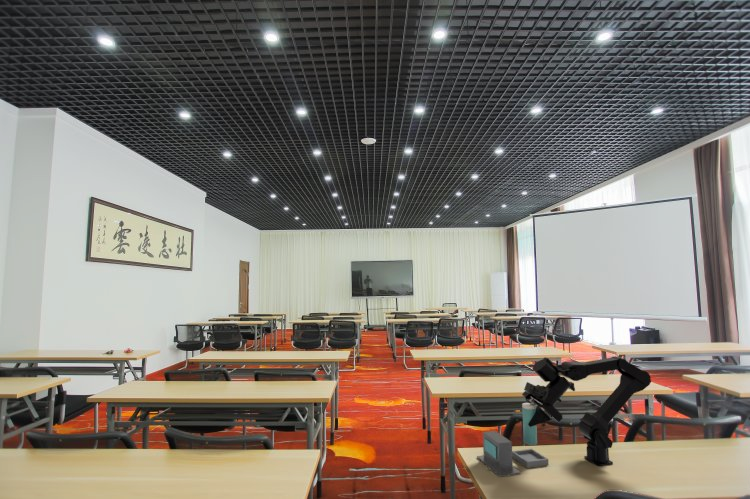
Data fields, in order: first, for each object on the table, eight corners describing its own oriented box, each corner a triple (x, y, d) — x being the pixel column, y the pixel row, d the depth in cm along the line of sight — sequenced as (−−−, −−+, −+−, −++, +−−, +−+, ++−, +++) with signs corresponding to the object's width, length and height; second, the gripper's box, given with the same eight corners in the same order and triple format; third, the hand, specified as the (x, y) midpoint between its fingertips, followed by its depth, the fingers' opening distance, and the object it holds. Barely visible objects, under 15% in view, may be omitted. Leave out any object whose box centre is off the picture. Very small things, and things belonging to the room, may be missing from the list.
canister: (535, 440, 133) (533, 403, 134) (538, 445, 128) (536, 407, 129) (522, 439, 133) (520, 402, 135) (525, 444, 129) (523, 406, 130)
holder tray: (532, 454, 137) (531, 448, 137) (548, 465, 128) (548, 459, 129) (512, 457, 134) (511, 451, 135) (527, 468, 126) (527, 462, 126)
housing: (496, 455, 136) (495, 428, 137) (520, 473, 122) (519, 443, 123) (477, 457, 134) (476, 430, 135) (499, 477, 120) (498, 446, 121)
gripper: (525, 369, 143) (499, 399, 141) (551, 381, 124) (521, 416, 122) (546, 389, 142) (520, 419, 141) (575, 405, 124) (545, 440, 122)
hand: (525, 423), depth 131 cm, fingers closed on canister, 4 cm apart
